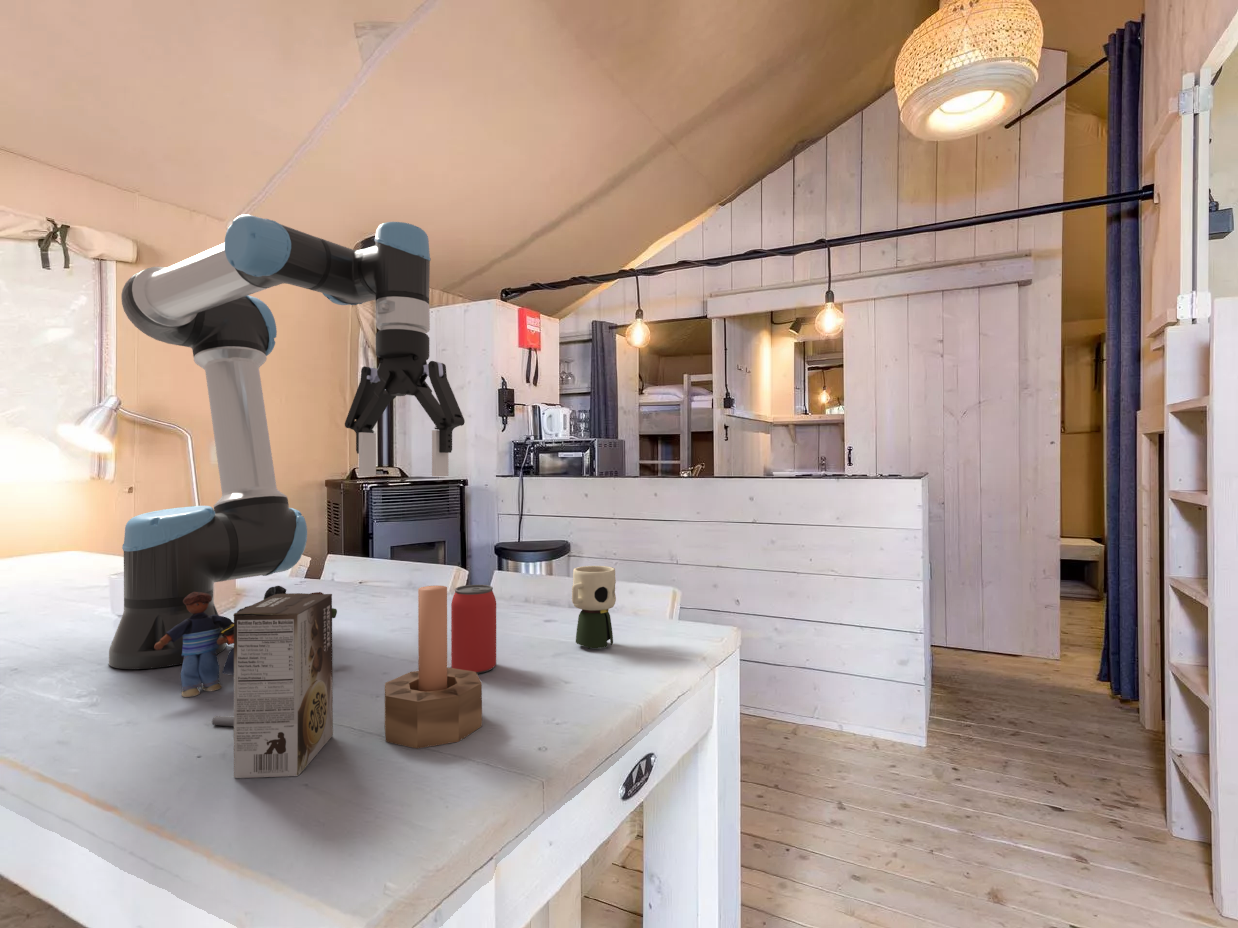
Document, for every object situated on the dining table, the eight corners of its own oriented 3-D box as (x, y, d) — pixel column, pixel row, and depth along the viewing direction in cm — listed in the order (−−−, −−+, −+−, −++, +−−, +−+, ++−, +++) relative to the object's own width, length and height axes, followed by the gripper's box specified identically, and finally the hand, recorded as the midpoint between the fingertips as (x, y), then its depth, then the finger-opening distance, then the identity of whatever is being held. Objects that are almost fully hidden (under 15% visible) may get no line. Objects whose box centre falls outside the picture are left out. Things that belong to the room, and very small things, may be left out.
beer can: (485, 677, 88) (485, 593, 88) (442, 674, 89) (443, 591, 89) (503, 662, 94) (503, 584, 95) (463, 660, 96) (463, 583, 96)
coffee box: (274, 738, 68) (275, 592, 68) (334, 736, 69) (335, 591, 69) (229, 780, 59) (230, 612, 59) (299, 777, 60) (299, 610, 60)
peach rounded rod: (412, 729, 70) (412, 589, 71) (430, 718, 73) (430, 584, 74) (435, 734, 69) (434, 591, 69) (452, 723, 72) (452, 586, 72)
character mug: (590, 658, 97) (590, 575, 97) (556, 650, 101) (556, 571, 101) (630, 642, 105) (630, 566, 105) (598, 635, 110) (598, 562, 110)
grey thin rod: (211, 726, 71) (212, 717, 71) (218, 722, 72) (218, 714, 72) (295, 731, 70) (295, 722, 70) (301, 727, 71) (301, 718, 71)
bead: (364, 736, 68) (364, 691, 69) (427, 703, 78) (427, 664, 78) (440, 753, 65) (440, 705, 65) (496, 716, 74) (496, 674, 74)
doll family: (195, 711, 76) (195, 603, 76) (147, 701, 79) (147, 597, 79) (341, 657, 98) (341, 573, 98) (298, 651, 101) (299, 569, 101)
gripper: (319, 334, 92) (319, 475, 92) (456, 319, 83) (456, 476, 83) (358, 343, 99) (358, 475, 99) (488, 330, 90) (488, 476, 90)
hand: (402, 476), depth 91 cm, fingers open, 13 cm apart
